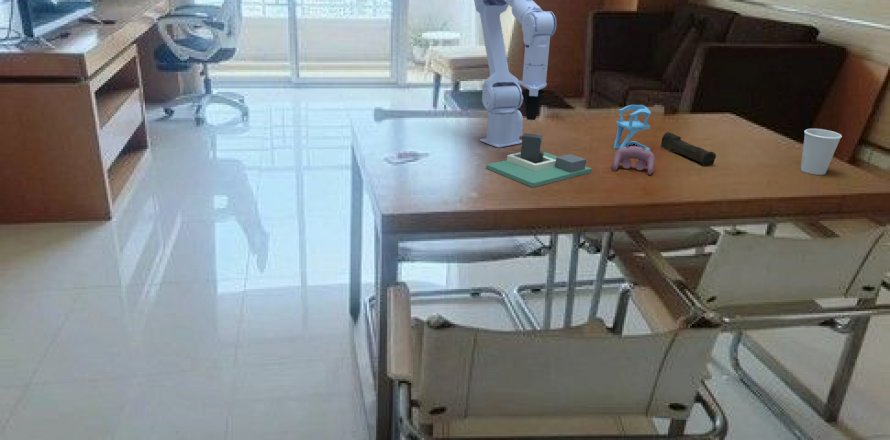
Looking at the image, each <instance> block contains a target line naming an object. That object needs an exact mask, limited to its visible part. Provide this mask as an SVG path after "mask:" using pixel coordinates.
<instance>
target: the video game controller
mask: <svg viewBox="0 0 890 440" xmlns="http://www.w3.org/2000/svg"><path fill="white" fill-rule="evenodd" d="M655 157H656V156H655V154H654V153H653V152H652V151H651V149H650V150H648V149H645V148H642V147H638V146H636V145H630V146H626V147H621V148H620V149H619V148H618V149H617V150H616V151H615V153H614V155H613V160H612V171H615V172H616V171H617V170H618V168H619V167H620V164H621V166H622V168H623V169H624V170H625V169H627V170H628V169H630V168H631V167H632V166H633V164H632V161H631V159H635V160H637V161H636V162H635V165H634V167H635V169H636V170H637V171H640V172H641V171H643V170H645V168H646V167H647V169H646V170H647V175H648V176H651V175H653V173H654V169H655V166H656V165H655V163H656V162H655V161H656V158H655Z"/></svg>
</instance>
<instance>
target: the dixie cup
mask: <svg viewBox="0 0 890 440" xmlns="http://www.w3.org/2000/svg"><path fill="white" fill-rule="evenodd" d="M803 131H804V138H803V139H804V140H803V147H802V156H801V162H800V163H801V164H800V171H802V172H804V173H807V174H810V175H817V176H823V175H826V173H827V171H828V169H829V166H830V165H831V161H832V158H833V156H834V154H835V151H836V150H837V147H838V145H839V143H840V140H841V139H842V137H843V136H842V134H841V133H838V132H836V131H832V130H830V129H829V130H827V129H823V128H807V129H805V130H803Z"/></svg>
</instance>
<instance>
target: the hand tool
mask: <svg viewBox="0 0 890 440" xmlns="http://www.w3.org/2000/svg"><path fill="white" fill-rule="evenodd" d="M660 145H661V147H662V146H663V147H664V148H663V147H662V148H663V149H665V148H666V149H665V150H667V151H668V150H669V151H668V152H670V151H672V152H671V153H678V154H679V155H683V156H684V157H686V158H689V159H691V160H693V161H695V162H697V163H698V164H699V163H700V164H701V165H702V167H710V166H713V165H714V164H715V159H716V158H717V154H716V153H715V152H714V151H708V150H706V149H704V148H702V147H699V146H695V145H693V144H690V143H688V142H687V141H685V140H682V138H681V136H679V135H676V134H674V133H672V132H666V133H664V134H663V136H662V138H661V143H660Z"/></svg>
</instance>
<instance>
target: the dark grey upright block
mask: <svg viewBox="0 0 890 440" xmlns="http://www.w3.org/2000/svg"><path fill="white" fill-rule="evenodd" d="M519 140H522V143H521V147H520V152H521V157H520V158H521V159H524V160H527V161H529V162H532V163H535V164H536V163H541V162H543V155H544V152H545V151H542V144H543V143H542V142H543V134H540V133H539V134H537V133H526V132H524V133H522V136H521V135H520V136H519Z"/></svg>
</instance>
